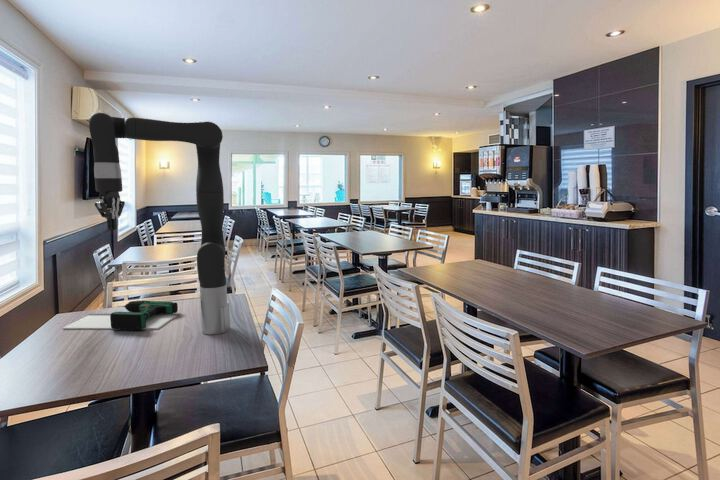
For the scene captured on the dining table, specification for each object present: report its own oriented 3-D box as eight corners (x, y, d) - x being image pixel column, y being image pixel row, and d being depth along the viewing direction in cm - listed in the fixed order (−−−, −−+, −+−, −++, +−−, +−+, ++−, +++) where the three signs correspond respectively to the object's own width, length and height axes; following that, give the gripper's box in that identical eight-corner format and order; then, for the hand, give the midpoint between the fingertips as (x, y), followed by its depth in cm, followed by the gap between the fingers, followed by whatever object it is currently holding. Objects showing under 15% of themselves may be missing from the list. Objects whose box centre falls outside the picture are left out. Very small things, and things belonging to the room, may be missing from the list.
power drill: (140, 315, 150) (180, 298, 175) (71, 313, 155) (119, 297, 180) (141, 330, 151) (181, 311, 175) (72, 327, 156) (120, 310, 180)
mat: (177, 315, 170) (176, 313, 170) (157, 329, 155) (157, 326, 154) (90, 315, 171) (90, 313, 171) (62, 329, 155) (62, 326, 155)
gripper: (107, 176, 128) (111, 232, 130) (131, 177, 141) (134, 228, 143) (83, 176, 128) (88, 232, 130) (109, 177, 141) (113, 228, 143)
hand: (112, 230), depth 137 cm, fingers closed
